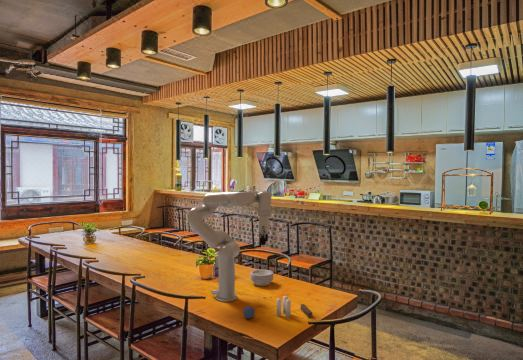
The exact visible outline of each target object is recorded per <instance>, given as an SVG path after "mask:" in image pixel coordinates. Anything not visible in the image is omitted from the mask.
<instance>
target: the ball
mask: <svg viewBox="0 0 523 360" xmlns="http://www.w3.org/2000/svg"><path fill="white" fill-rule="evenodd" d="M255 313H256V312H255V309H254V307H253V306H251V305H248V306H245V307H244V308H243V311H242V315H243V316H244V318H246V319H248V320H249V319H252V318H253V317H254V316H255Z"/></svg>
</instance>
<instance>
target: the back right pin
mask: <svg viewBox="0 0 523 360" xmlns="http://www.w3.org/2000/svg"><path fill="white" fill-rule="evenodd" d="M291 303H292V301H291V299H287V300H286V314H285V318H287V319H291V310H292V309H291V308H292V306H291V305H292V304H291Z"/></svg>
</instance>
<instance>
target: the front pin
mask: <svg viewBox="0 0 523 360" xmlns="http://www.w3.org/2000/svg"><path fill="white" fill-rule="evenodd" d="M281 316H282V298H281V297H280V298H276V317H281Z"/></svg>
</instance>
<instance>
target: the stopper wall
mask: <svg viewBox="0 0 523 360" xmlns="http://www.w3.org/2000/svg"><path fill="white" fill-rule="evenodd" d="M300 310H301V311H302V312H303V313H304V314H305V315H306V316H307V318H308V319H309V318H313V312H312V310H311V309H309V307H308V306H307V305H305V303H300Z"/></svg>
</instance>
